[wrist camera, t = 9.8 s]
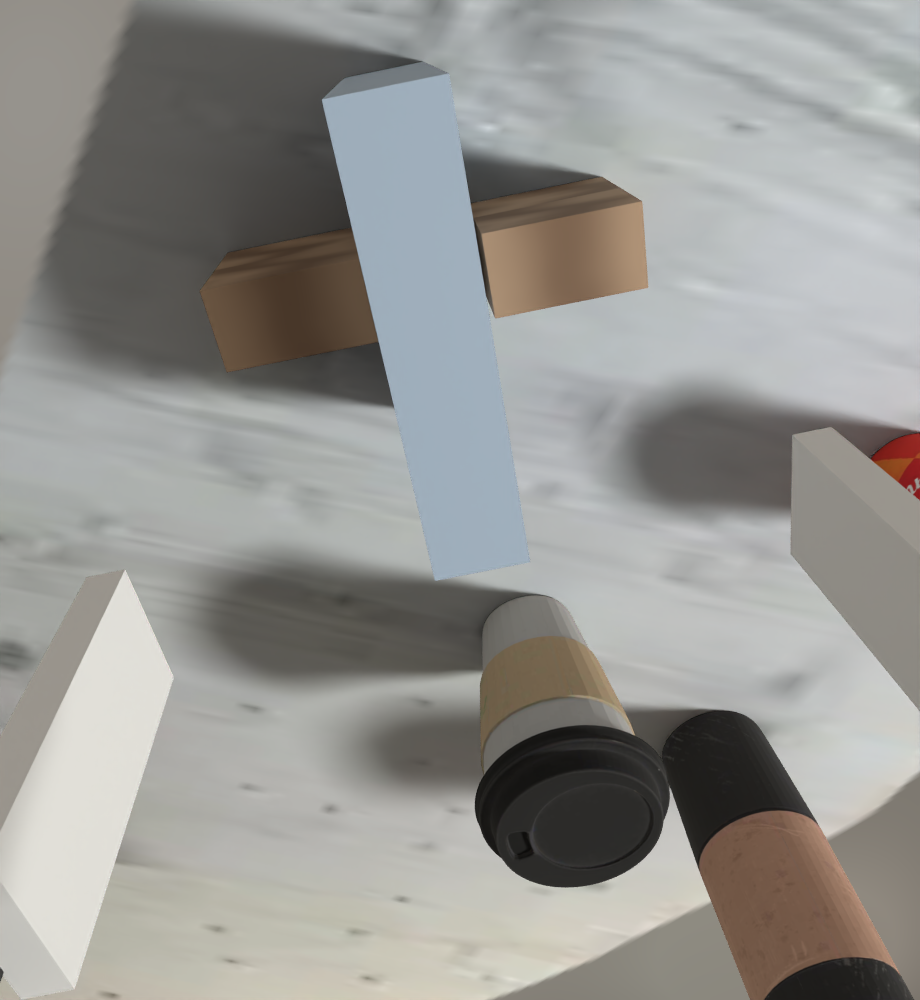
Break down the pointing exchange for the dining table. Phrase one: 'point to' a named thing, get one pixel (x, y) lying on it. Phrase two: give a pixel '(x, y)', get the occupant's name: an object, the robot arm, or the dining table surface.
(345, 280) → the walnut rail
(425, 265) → the light blue slab
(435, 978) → the dining table surface
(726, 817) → the travel mug
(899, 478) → the paper cup
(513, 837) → the coffee cup
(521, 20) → the dining table surface
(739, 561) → the dining table surface
